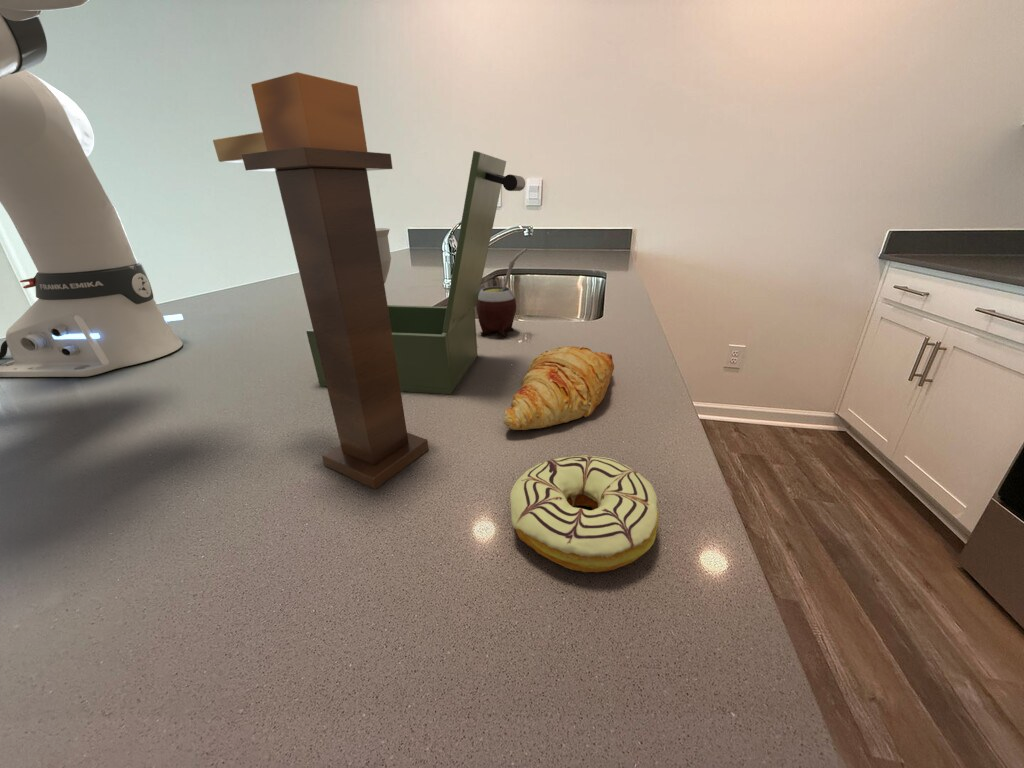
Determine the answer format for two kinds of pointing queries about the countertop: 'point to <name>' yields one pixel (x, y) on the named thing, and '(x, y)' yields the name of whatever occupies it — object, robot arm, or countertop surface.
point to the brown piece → (300, 117)
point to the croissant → (560, 388)
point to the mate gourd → (497, 307)
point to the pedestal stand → (346, 303)
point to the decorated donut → (585, 512)
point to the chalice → (384, 250)
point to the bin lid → (476, 233)
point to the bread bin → (424, 348)
